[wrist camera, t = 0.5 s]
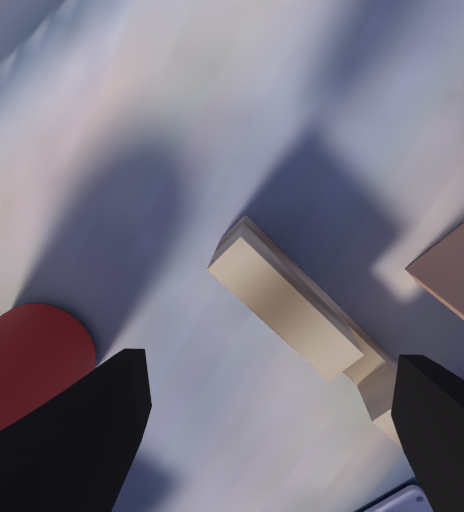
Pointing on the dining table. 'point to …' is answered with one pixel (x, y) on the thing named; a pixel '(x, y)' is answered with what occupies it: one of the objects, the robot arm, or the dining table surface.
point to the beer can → (39, 357)
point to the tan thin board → (443, 271)
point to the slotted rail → (305, 316)
